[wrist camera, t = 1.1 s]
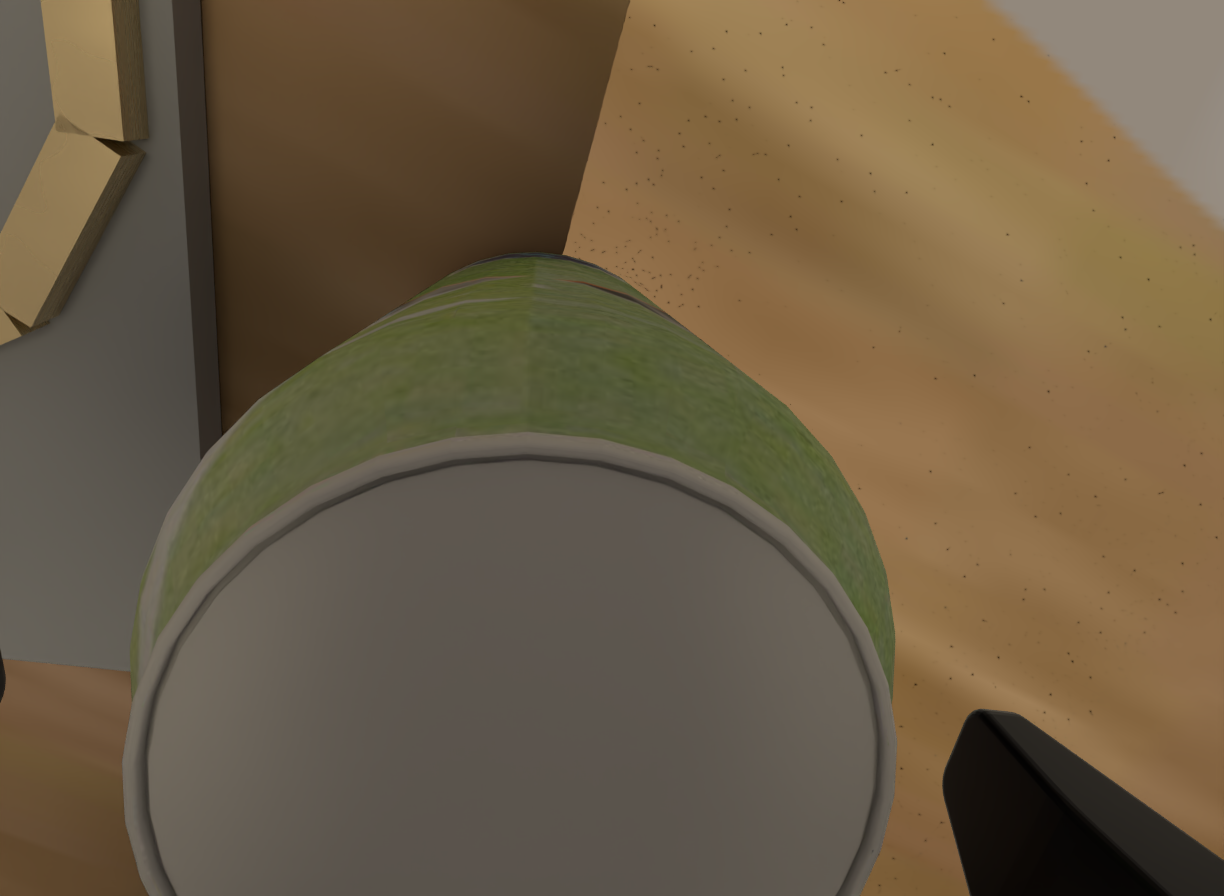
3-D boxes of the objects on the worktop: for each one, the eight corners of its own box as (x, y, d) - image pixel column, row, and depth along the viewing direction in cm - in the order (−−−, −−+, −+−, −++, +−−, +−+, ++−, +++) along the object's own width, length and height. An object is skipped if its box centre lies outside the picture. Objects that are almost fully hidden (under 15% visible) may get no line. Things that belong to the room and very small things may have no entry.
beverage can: (373, 494, 17) (-10, 1215, 6) (417, 132, 14) (-154, 294, 3) (658, 547, 18) (765, 1277, 7) (757, 213, 15) (1205, 567, 4)
